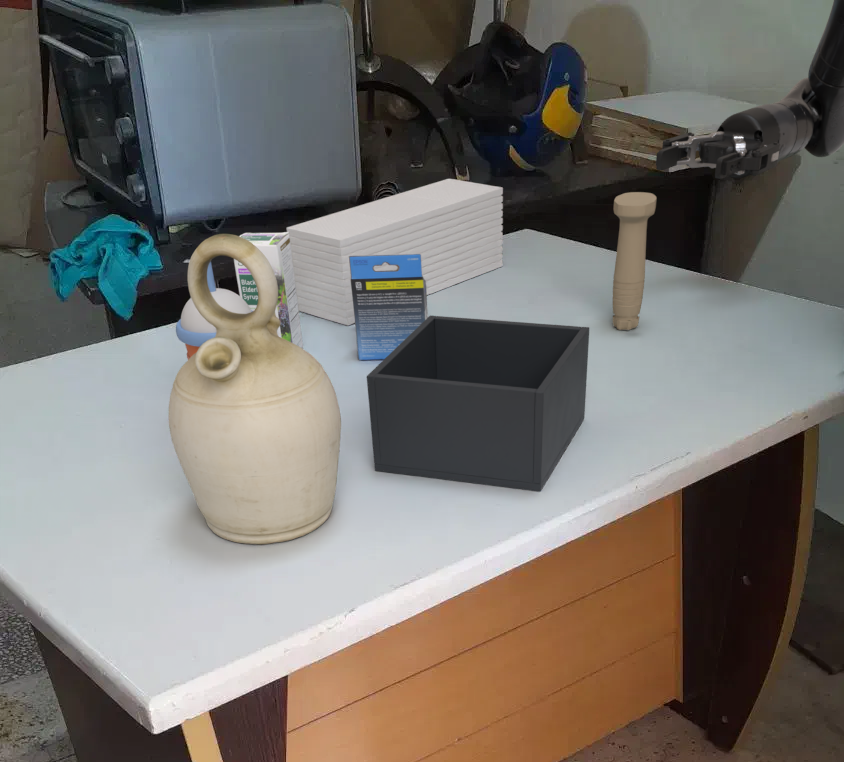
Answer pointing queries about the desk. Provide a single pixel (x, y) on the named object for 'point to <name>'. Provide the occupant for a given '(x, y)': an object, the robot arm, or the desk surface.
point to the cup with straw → (198, 329)
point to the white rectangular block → (398, 242)
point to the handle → (630, 256)
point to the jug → (253, 414)
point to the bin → (479, 401)
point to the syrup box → (281, 262)
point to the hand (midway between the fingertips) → (688, 165)
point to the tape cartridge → (386, 302)
